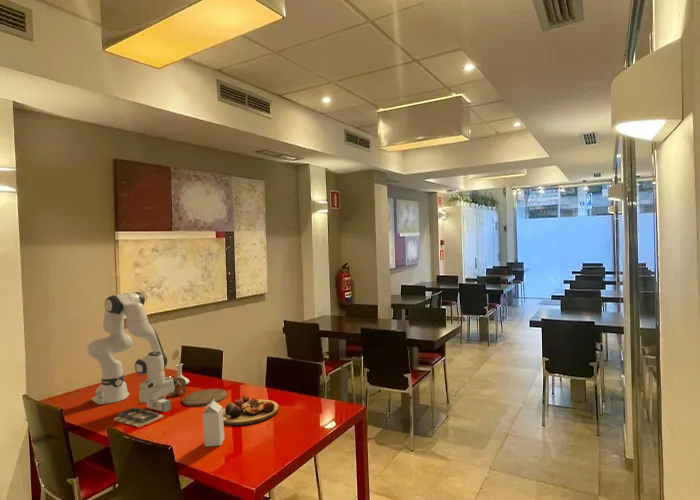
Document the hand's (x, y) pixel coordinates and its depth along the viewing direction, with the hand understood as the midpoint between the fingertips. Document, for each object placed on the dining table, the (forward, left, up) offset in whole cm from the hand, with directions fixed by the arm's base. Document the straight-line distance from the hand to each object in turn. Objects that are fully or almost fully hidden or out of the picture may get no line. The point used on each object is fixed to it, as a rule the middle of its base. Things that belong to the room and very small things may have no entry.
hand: (158, 404), depth 245 cm
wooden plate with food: (+55, +16, -3) cm, 57 cm away
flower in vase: (-24, +32, -2) cm, 40 cm away
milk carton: (+66, -16, -2) cm, 68 cm away
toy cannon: (-12, +16, -2) cm, 20 cm away
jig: (+3, -14, -2) cm, 14 cm away
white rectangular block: (0, 0, -2) cm, 2 cm away
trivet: (+13, +22, -3) cm, 26 cm away
